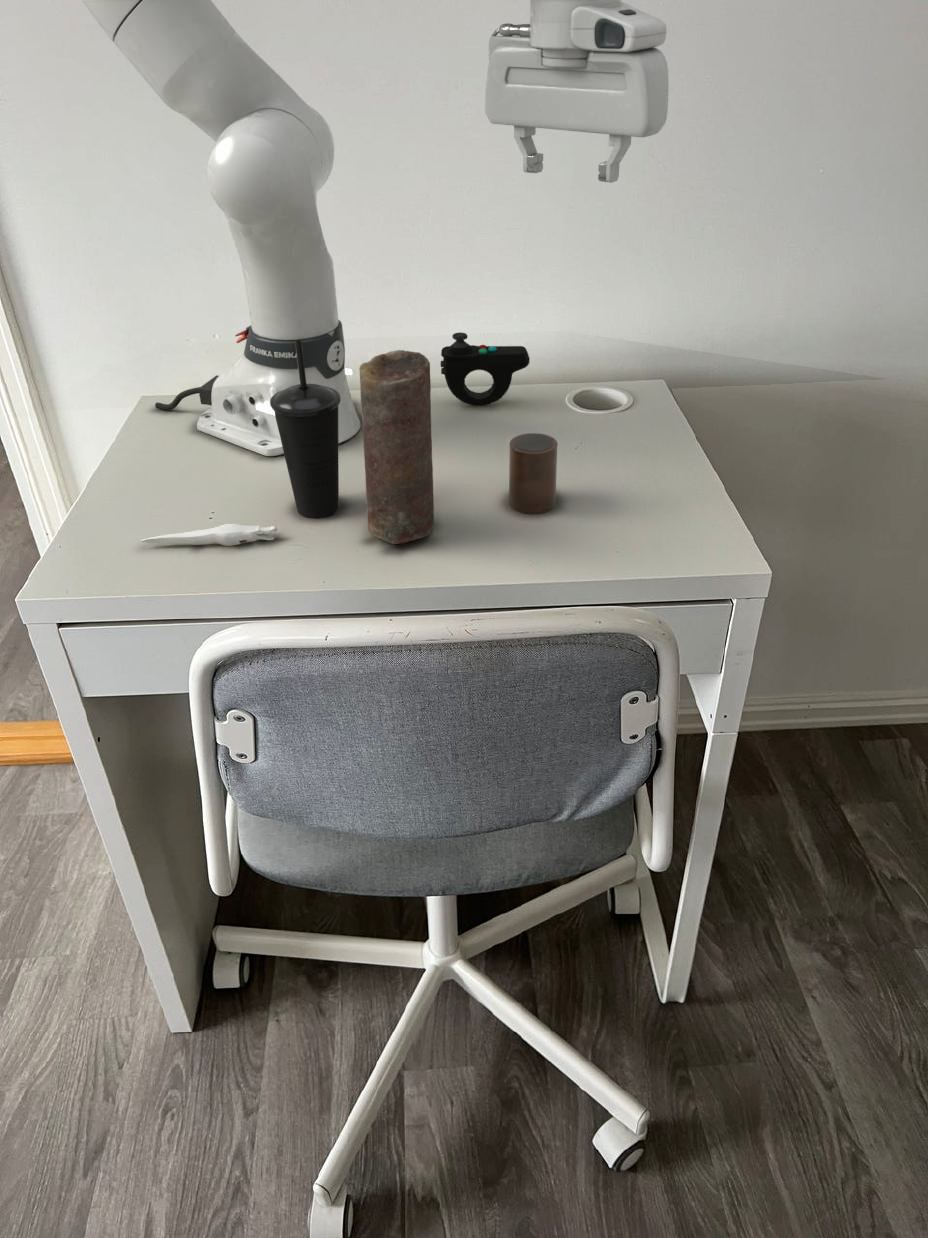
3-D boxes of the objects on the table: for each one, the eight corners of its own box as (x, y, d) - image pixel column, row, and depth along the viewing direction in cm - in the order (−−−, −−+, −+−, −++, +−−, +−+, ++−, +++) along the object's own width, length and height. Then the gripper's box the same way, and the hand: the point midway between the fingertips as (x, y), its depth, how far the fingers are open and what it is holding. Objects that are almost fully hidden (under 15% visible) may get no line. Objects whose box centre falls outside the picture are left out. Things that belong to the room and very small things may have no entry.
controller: (442, 398, 141) (440, 329, 135) (528, 397, 141) (529, 328, 135) (441, 410, 137) (439, 340, 132) (529, 409, 137) (530, 338, 131)
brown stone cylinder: (449, 536, 109) (444, 362, 97) (396, 559, 105) (384, 381, 93) (407, 511, 113) (398, 342, 102) (355, 532, 110) (339, 359, 98)
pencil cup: (501, 508, 114) (501, 447, 109) (520, 488, 118) (521, 429, 113) (544, 517, 112) (546, 456, 107) (562, 497, 116) (564, 437, 111)
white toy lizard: (279, 532, 110) (277, 518, 109) (277, 544, 108) (275, 530, 107) (143, 541, 109) (140, 527, 108) (139, 554, 107) (135, 539, 106)
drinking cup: (339, 527, 111) (321, 355, 99) (275, 521, 112) (250, 351, 101) (359, 495, 117) (343, 330, 105) (298, 490, 118) (276, 327, 107)
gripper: (471, 25, 100) (474, 171, 108) (650, 30, 89) (638, 192, 97) (507, 20, 104) (507, 162, 112) (682, 24, 93) (668, 180, 101)
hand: (569, 176), depth 104 cm, fingers open, 8 cm apart
